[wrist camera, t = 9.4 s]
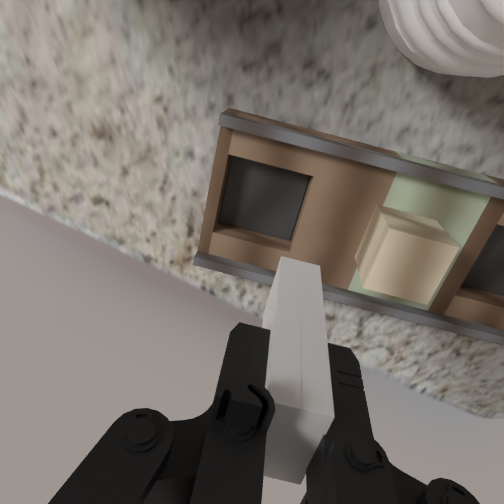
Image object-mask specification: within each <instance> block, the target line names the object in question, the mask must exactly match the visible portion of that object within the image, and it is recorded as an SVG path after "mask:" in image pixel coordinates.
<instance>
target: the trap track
mask: <svg viewBox="0 0 504 504" xmlns="http://www.w3.org/2000/svg"><path fill="white" fill-rule="evenodd" d="M218 125H220V126H221V127H220V132H219V138H218V143H217V149H216V154H215V159H214V165H213V170H212V176H211V181H210V187H209V192H208V197H207V203H206V208H205V214H204V219H203V224H202V230H201V235H200V241H199V246H198V251H197V253H196V255H195V257H194V262H193V265H196V266H200V267H203V268H207V269H211V270H215V271H219V272H223V273H227V274H231V275H234V276H238V277H242V278H246V279H250V280H254V281H258V282H261V283H265V284H269V285H272V284H273V281H274V278H275V274H276V271H277V268H278V264H279V261H280V258H281V256H283V257H287V258H291V259H295V260H299V261H303V262H307V263H311V264H315V265H319V266H320V271H321V281H322V292H323V299H327V300H331V301H335V302H339V303H342V304H346V305H350V306H354V307H358V308H362V309H366V310H369V311H373V312H377V313H381V314H385V315H389V316H393V317H396V318H400V319H404V320H408V321H412V322H416V323H420V324H423V325H427V326H431V327H435V328H439V329H443V330H447V331H450V332H454V333H458V334H462V335H466V336H470V337H474V338H477V339H481V340H485V341H489V342H493V343H497V344H501V345H504V180H502V179H498V178H494V177H490V176H487V175H483V174H479V173H475V172H471V171H467V170H464V169H460V168H456V167H452V166H448V165H444V164H441V163H437V162H433V161H429V160H425V159H421V158H418V157H414V156H410V155H406V154H402V153H398V152H395V151H391V150H387V149H383V148H379V147H375V146H372V145H368V144H364V143H360V142H356V141H352V140H349V139H345V138H341V137H337V136H333V135H330V134H326V133H322V132H318V131H314V130H310V129H307V128H303V127H299V126H295V125H291V124H287V123H284V122H280V121H276V120H272V119H268V118H264V117H261V116H257V115H253V114H249V113H245V112H241V111H238V110H234V109H230V108H228V109H227V110H225V111H224V112H222V113H221V114H220V118H219V124H218ZM231 156H232V160H231ZM230 161H231V165H230ZM229 166H230V170H229ZM228 171H229V175H228ZM227 176H228V180H227ZM309 177H310V180H309ZM308 180H309V183H308ZM226 181H227V184H226ZM307 183H308V186H307ZM225 186H226V189H225ZM306 187H307V189H306ZM224 190H225V194H224ZM305 190H306V192H305ZM304 193H305V196H304ZM223 195H224V199H223ZM303 196H304V199H303ZM302 199H303V202H302ZM222 200H223V204H222ZM301 203H302V205H301ZM377 204H378V205H382V206H385V207H389V208H393V209H396V210H400V211H404V212H408V213H411V214H415V215H419V216H422V217H426V218H430V219H434V220H437V221H438V223H439V224H440V225H441V226H442V227H443V228H444V230H445V231H446V232H447V233H448V234H449V235H450V237H451V238H452V239H453V240H454V241H455V242H456V244H457V245H458V246H459V247H460V248H459V250H458V252H457V253H456V255H455V257H454V259H453V261H452V262H451V264H450V266H449V268H448V269H447V271H446V273H445V275H444V277H443V278H442V280H441V282H440V284H439V285H438V287H437V289H436V291H435V292H434V294H433V296H432V298H431V300H430V301H429V303H428V305H425V304H421V303H418V302H414V301H410V300H406V299H403V298H399V297H395V296H391V295H388V294H384V293H380V292H376V291H373V290H369V289H365V288H363V286H362V283H361V279H360V275H359V272H358V268H357V265H356V261H355V255H356V252H357V250H358V247H359V245H360V243H361V240H362V238H363V236H364V233H365V231H366V228H367V226H368V224H369V221H370V219H371V217H372V214H373V212H374V209H375V207H376V205H377ZM221 205H222V209H221ZM300 206H301V209H300ZM299 209H300V212H299ZM220 210H221V214H220ZM298 212H299V215H298ZM219 215H220V218H219ZM297 216H298V218H297ZM296 219H297V221H296ZM218 220H219V222H218ZM295 222H296V225H295ZM294 225H295V228H294ZM293 228H294V231H293ZM292 232H293V234H292ZM291 235H292V237H291ZM290 238H291V240H290Z"/></svg>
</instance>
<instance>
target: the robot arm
mask: <svg viewBox="0 0 504 504" xmlns="http://www.w3.org/2000/svg"><path fill="white" fill-rule="evenodd" d="M361 377H362V376H361V370H360V365H359V361H358V360H357V358H356V357H355V355H354V354H353V352H352V350H351V349H350V348H347V347H343V346H339V345H335V344H330V343H327V333H326V323H325V313H324V302H323V292H322V281H321V271H320V266H319V265H315V264H311V263H307V262H303V261H299V260H295V259H291V258H287V257H283V256H281V258H280V261H279V264H278V268H277V271H276V274H275V278H274V281H273V284H272V288H271V291H270V294H269V298H268V301H267V304H266V308H265V311H264V317H263V324H262V328H260V327H256V326H252V325H248V324H244V323H238V325H237V326H236V327H235V328H234V329H233V330H232V331H231V332H230V335H229V340H228V343H227V348H226V351H225V355H224V359H223V364H222V368H221V372H220V376H219V380H218V384H217V388H216V393H215V397H214V401H213V404H212V405H211V406H210V408H209V409H208V410H207V411H206V412H204V413H203V414H202V415H200V416H198V417H195V418H193V419H188V420H179V421H169V420H168V418H167V417H165V416H164V415H163V414H162V413H160V412H159V411H156V410H152V409H149V408H142V409H134V410H132V411H130V412H127V413H124V414H123V415H122V416H121V417H119V418H118V419H117V420H116V421H115V422H114V423H113V424H112V425H111V427H110V428H109V429H108V430H107V432H106V433H105V434H104V435H103V436H102V438H101V439H100V440H99V442H98V443H97V444H96V445H95V446H94V448H93V449H92V450H91V451H90V452H89V454H88V455H87V456H86V458H85V459H84V460H83V461H82V462H81V464H80V465H79V466H78V467H77V469H76V470H75V471H74V472H73V473H72V475H71V476H70V477H69V478H68V480H67V481H66V482H65V483H64V485H63V486H62V487H61V488H60V489H59V491H58V492H57V493H56V495H55V496H54V497H53V498H52V499H51V500H50V502H49V503H48V504H261V499H262V487H263V476H267V477H271V478H275V479H279V480H283V481H288V482H292V483H296V484H301V482H302V480H303V478H304V476H305V474H306V478H307V479H306V480H307V481H306V482H307V492H306V494H305V496H304V498H303V499H302V501H301V503H300V504H480V503H479V502H478V501H477V499H476V498H475V497H474V496H473V495H472V494H471V493H470V492H469V491H468V490H466V489H465V488H464V487H463V486H461V485H459V484H458V483H456V482H454V481H452V480H449V479H443V478H438V479H435V480H432V481H431V482H430V483H429V484H428V485H425V484H424V483H422V482H420V481H418V480H417V479H415V478H413V477H411V476H409V475H408V474H406V473H404V472H402V471H401V470H399V469H398V468H396V467H395V466H393V465H392V464H391V463H390V462H389V460H388V458H387V456H386V453H385V451H384V450H383V448H382V447H381V446H380V445H379V443H378V442H377V441H375V440H374V437H373V433H372V428H371V423H370V418H369V413H368V407H367V402H366V397H365V391H363V389H364V386H363V381H362V379H361Z"/></svg>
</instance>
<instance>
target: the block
mask: <svg viewBox="0 0 504 504" xmlns="http://www.w3.org/2000/svg"><path fill="white" fill-rule="evenodd" d="M459 248H460V247H459V246H458V245H457V244H456V242H455V241H454V240H453V239H452V238H451V237H450V235H449V234H448V233H447V232H446V231H445V230H444V228H443V227H442V226H441V225H440V224H439V223H438V221H437V220H434V219H430V218H426V217H422V216H419V215H415V214H411V213H408V212H404V211H400V210H396V209H393V208H389V207H385V206H382V205H378V204H377V205H376V207H375V209H374V212H373V214H372V217H371V219H370V221H369V224H368V226H367V228H366V231H365V233H364V236H363V238H362V240H361V243H360V245H359V247H358V250H357V252H356V255H355V261H356V265H357V268H358V272H359V275H360V279H361V283H362V286H363V288H365V289H369V290H373V291H376V292H380V293H384V294H388V295H391V296H395V297H399V298H403V299H406V300H410V301H414V302H418V303H421V304H425V305H428V303H429V301H430V300H431V298H432V296H433V294H434V292H435V291H436V289H437V287H438V285H439V284H440V282H441V280H442V278H443V277H444V275H445V273H446V271H447V269H448V268H449V266H450V264H451V262H452V261H453V259H454V257H455V255H456V253H457V252H458V250H459Z"/></svg>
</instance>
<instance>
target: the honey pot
mask: <svg viewBox="0 0 504 504" xmlns="http://www.w3.org/2000/svg"><path fill="white" fill-rule="evenodd" d="M378 1H379V9H380V13H381V16H382V19H383V22H384V26H385V29H386V32H387V33H388V35H389V36H390V38H391V40H392V41H393V43H394V44H395V46H396V47H397V49H398V50H399V52H401V53H402V54H403V55H404V56H406V57H407V58H408V59H409V60H410V61H412V62H413V63H414V64H415V65H417V66H419V67H422V68H424V69H427V70H429V71H432V72H435V73H437V74H447V75H458V76H471V77H484V78H491V77H496V76H502V75H504V0H378Z"/></svg>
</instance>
